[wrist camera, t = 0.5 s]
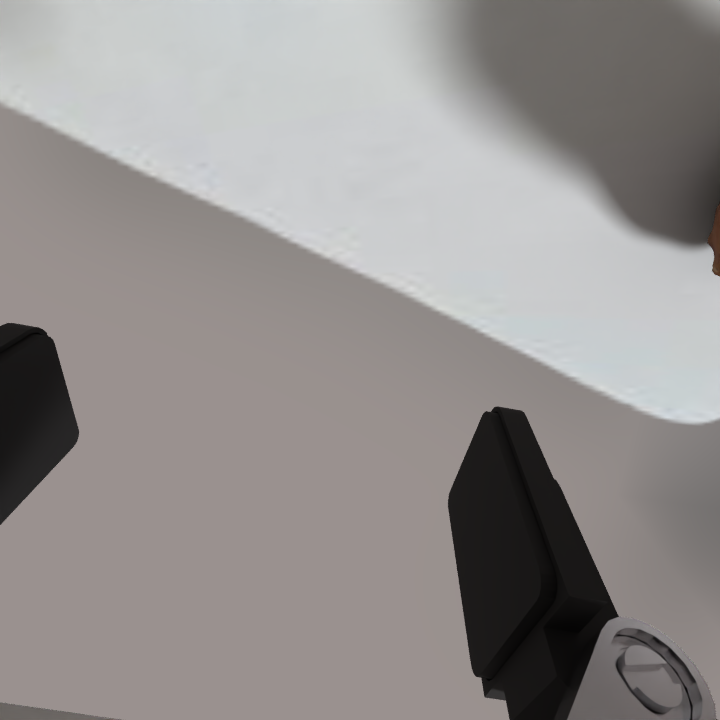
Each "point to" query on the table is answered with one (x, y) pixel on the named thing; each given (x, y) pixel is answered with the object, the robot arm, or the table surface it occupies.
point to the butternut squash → (716, 242)
